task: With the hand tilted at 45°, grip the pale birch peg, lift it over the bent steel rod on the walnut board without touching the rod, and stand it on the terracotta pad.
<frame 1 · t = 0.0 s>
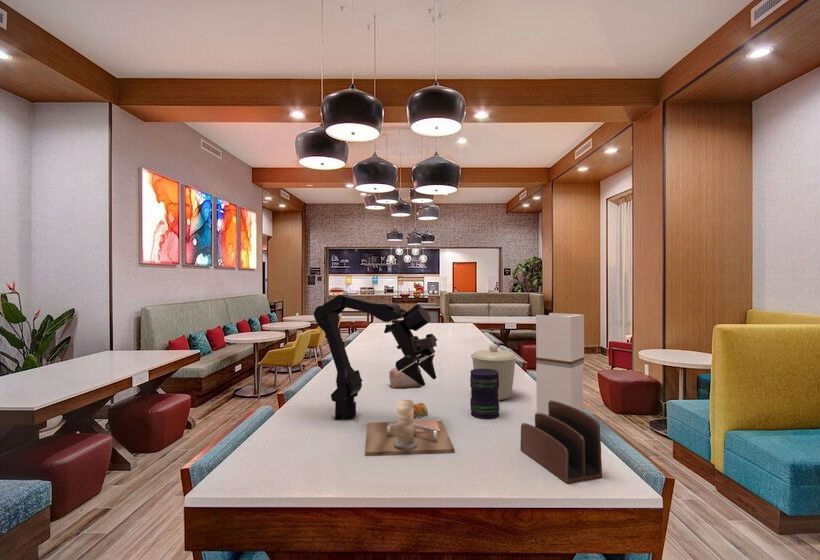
hand: (429, 382, 130), 15 cm above the table, tool tilted 35°, fingers open, 9 cm apart
letter holder: (558, 464, 106), on the table
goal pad: (422, 427, 130), resting on board
peg: (405, 445, 115), point 1 cm above the table, touching board
pastry: (415, 416, 144), on the table
board: (407, 438, 123), on the table
storage jar: (484, 415, 144), on the table
canister: (493, 397, 166), on the table
grooved white pillar: (560, 422, 136), on the table
food item: (405, 387, 183), on the table
wire: (414, 439, 122), resting on board
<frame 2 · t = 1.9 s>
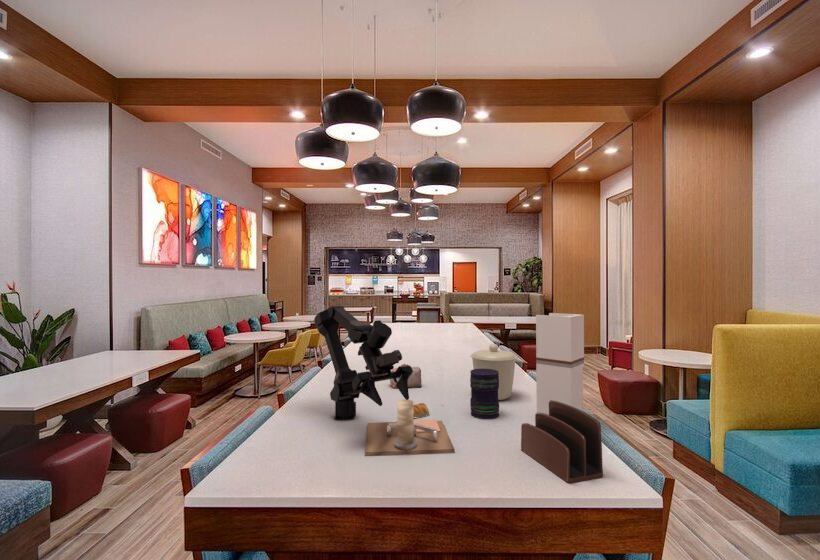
hand: (395, 402, 119), 12 cm above the table, tool tilted 45°, fingers open, 9 cm apart
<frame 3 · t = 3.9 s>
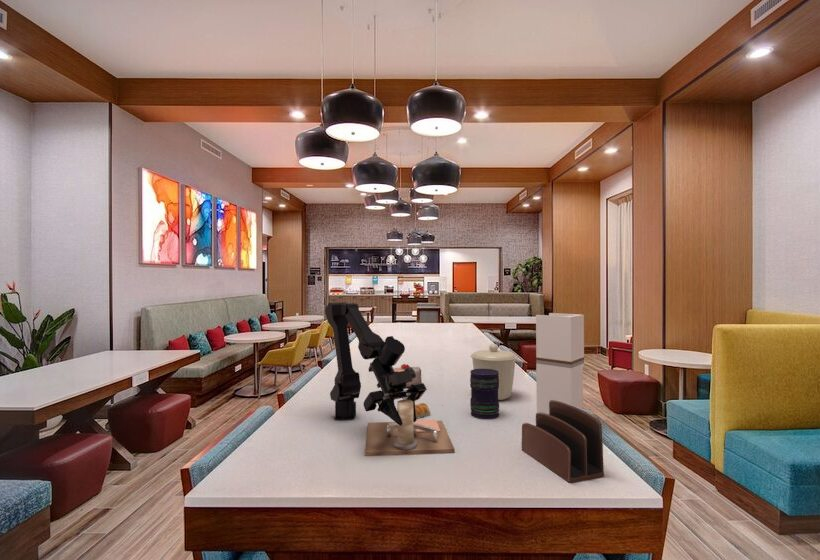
hand: (408, 423, 114), 8 cm above the table, tool tilted 45°, fingers closed on peg, 4 cm apart
peg: (405, 445, 115), point 1 cm above the table, touching board, gripper
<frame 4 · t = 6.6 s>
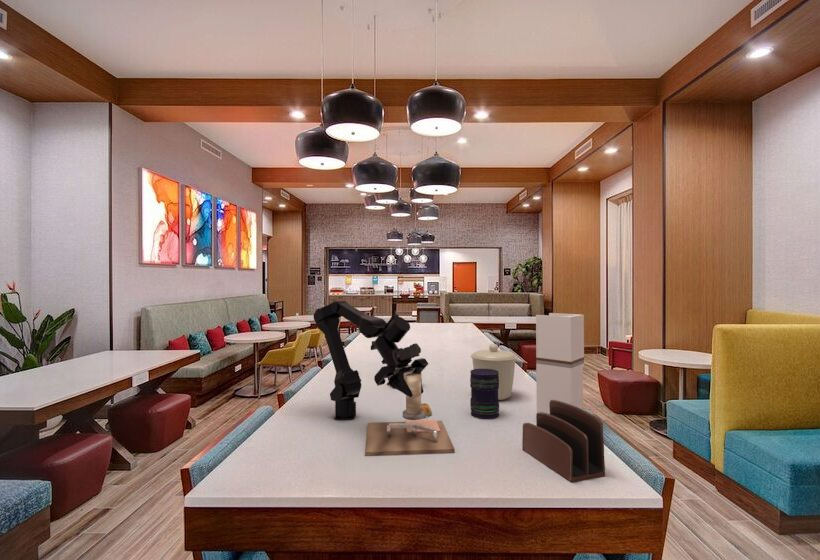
hand: (417, 394, 121), 13 cm above the table, tool tilted 45°, fingers closed on peg, 4 cm apart
peg: (413, 416, 122), point 7 cm above the table, touching gripper
when the fingers open (9 cm above the table, at t = 9.2 s): peg drops 1 cm, resting on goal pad.
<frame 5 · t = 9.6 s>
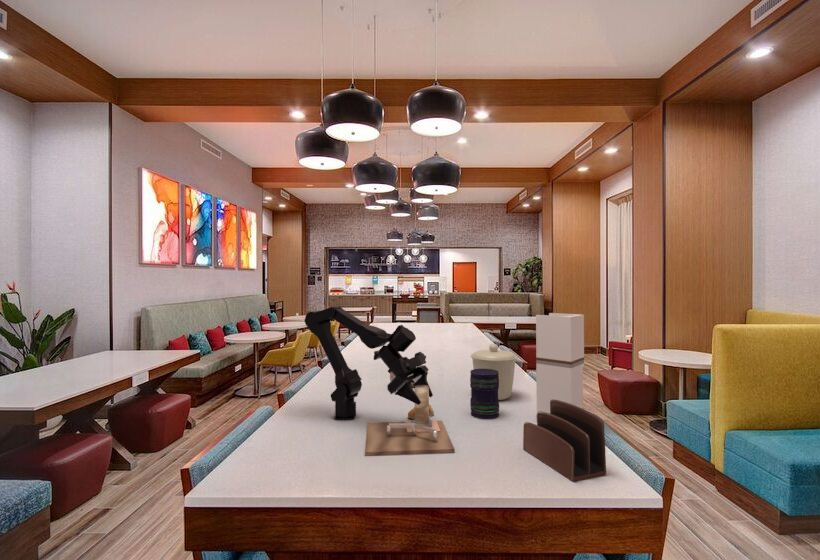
hand: (426, 400, 129), 10 cm above the table, tool tilted 45°, fingers open, 8 cm apart
peg: (422, 425, 130), point 2 cm above the table, touching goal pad
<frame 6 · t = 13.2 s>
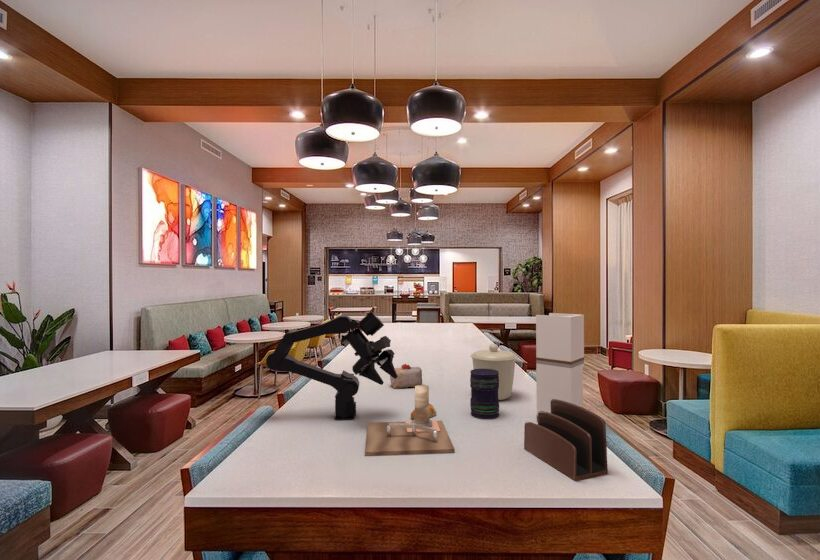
hand: (389, 380, 137), 14 cm above the table, tool tilted 45°, fingers open, 9 cm apart
at the end: peg inside the target area on the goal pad (0.1 cm from its centre), point 0.5 cm above the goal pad's base; peg tilted 0°; peg touching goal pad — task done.
